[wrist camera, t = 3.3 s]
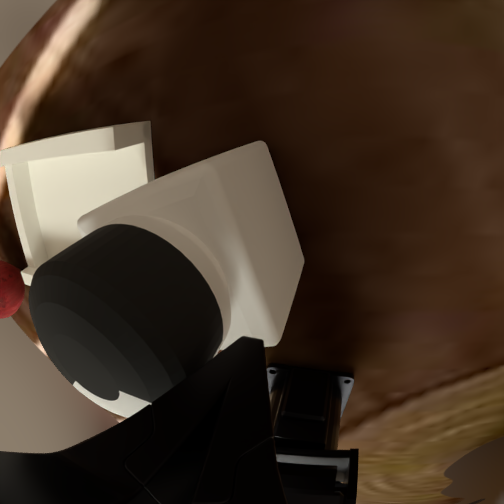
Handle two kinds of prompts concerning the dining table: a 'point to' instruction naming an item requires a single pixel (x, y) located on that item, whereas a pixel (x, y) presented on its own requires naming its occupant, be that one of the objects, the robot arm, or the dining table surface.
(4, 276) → the red rounded lump
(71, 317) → the medicine bottle
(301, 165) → the dining table surface
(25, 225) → the cradle
